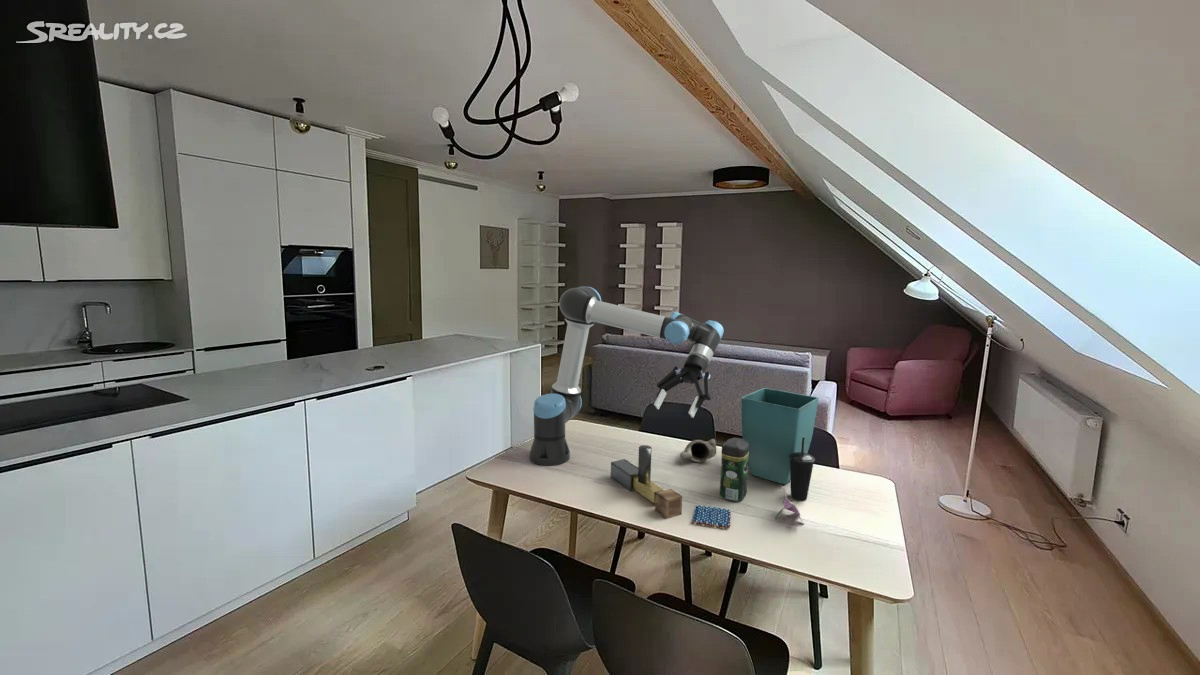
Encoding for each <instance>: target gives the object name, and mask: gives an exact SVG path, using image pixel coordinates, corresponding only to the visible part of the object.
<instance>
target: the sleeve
mask: <svg viewBox="0 0 1200 675" xmlns="http://www.w3.org/2000/svg"><path fill="white" fill-rule="evenodd" d="M635 475H638V466H636V465H635V464H633V463H632V462H630V461H629V460H628V459H626V458H623V459H617V460H613V461H610V479H612V480H613V481H614V482H616V484H619V486H621V487H622V488H624V489H625V490H627V491H628V492H630V493H631V492H634V491H636V490H635V489H633V488H632V487H631V482H632V476H635Z"/></svg>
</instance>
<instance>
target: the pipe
mask: <svg viewBox="0 0 1200 675" xmlns="http://www.w3.org/2000/svg"><path fill="white" fill-rule="evenodd" d="M715 455H717V443H716V440H715V438H711V439H709V440H708V441H707V440H706V441H705V440H702V439H693V440H691V441H690V442H689V443H688V444H687V445H686V447H685V448H684V450H682V451H681V453H680V458H682V459H688V460H690V461H692V462H694V463H699V464H700V463H703V462H706V461H708V460H709V459H711V458H713V457H714V456H715Z"/></svg>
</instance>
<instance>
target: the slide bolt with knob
mask: <svg viewBox="0 0 1200 675" xmlns="http://www.w3.org/2000/svg"><path fill="white" fill-rule="evenodd" d="M652 449H653V448H652V446H650V445H647V444H645V445H644V444H643V445H639V446H638V461H637V462H638V465H637V467H638V475H635V476H632V482H631V487H632V488H633V489H635V491H636V492H637V493H639V494H641V495H642V496H643V497H645V498H646V499H647V500H648V501H650V502H652V503H653V504H655V500H656V492H660V491H663V490H665V489H664V488H662V487H661V486H659V485H657V484H656V483H654V482H653V481H652V480H651V477H652V476H651V475H652V474H651V473H652Z"/></svg>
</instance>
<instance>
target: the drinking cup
mask: <svg viewBox="0 0 1200 675" xmlns="http://www.w3.org/2000/svg"><path fill="white" fill-rule="evenodd" d="M804 440H805V438H804V437H803V438H802V449H801V452H795V453H791V454H790V455H789V458H790V481H789V482H790V497H791V498H792V499H793V500H794V501H799V502H804V501H806V500H807V499H808V494H809V489H810V483H811V478H812V474H813V469H814V468H813V467H814V463H815V461H816V458H815V457H814V456H813V455H811V454H809V453H804Z"/></svg>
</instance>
